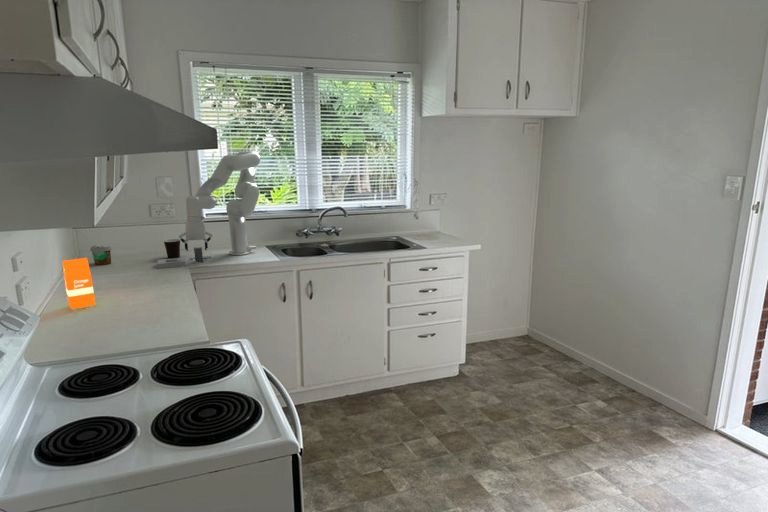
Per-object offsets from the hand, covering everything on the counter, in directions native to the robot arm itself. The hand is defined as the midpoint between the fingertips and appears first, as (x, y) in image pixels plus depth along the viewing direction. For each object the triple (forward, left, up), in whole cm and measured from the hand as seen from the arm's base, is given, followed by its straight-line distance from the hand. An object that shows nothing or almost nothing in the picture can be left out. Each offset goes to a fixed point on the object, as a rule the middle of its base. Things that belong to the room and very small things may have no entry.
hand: (196, 250), depth 279 cm
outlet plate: (+13, +2, -7) cm, 15 cm away
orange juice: (+45, +63, -7) cm, 77 cm away
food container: (+50, -15, -7) cm, 53 cm away
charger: (-1, 0, -7) cm, 7 cm away
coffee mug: (+12, -18, -7) cm, 23 cm away
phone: (-2, -9, -7) cm, 12 cm away
